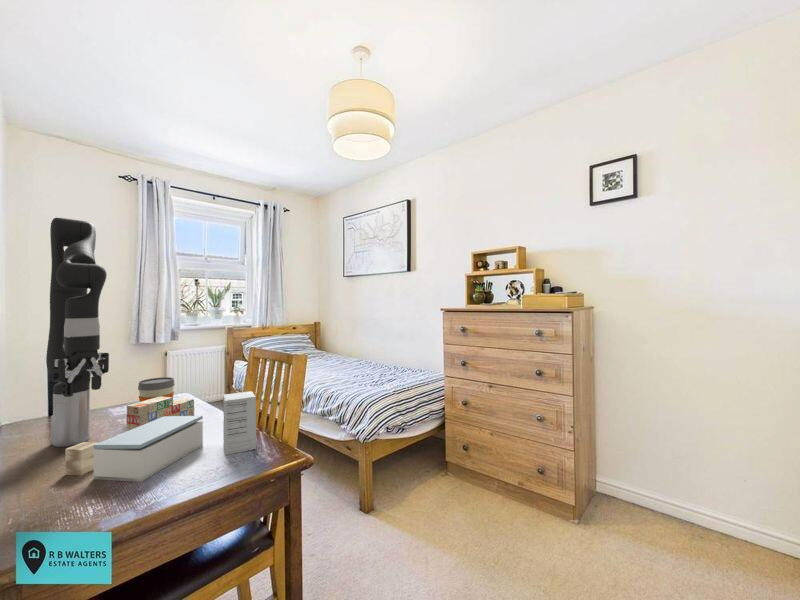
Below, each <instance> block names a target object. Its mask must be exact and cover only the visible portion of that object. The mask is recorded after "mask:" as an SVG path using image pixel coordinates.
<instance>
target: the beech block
mask: <svg viewBox="0 0 800 600" xmlns="http://www.w3.org/2000/svg"><path fill="white" fill-rule="evenodd" d="M97 443H98V442H90V441H85V442H82V443H79V444H75V445H71V446H69V447H67V448H65V449H64V450H65V455H64V456H65V462H64V463H65V475H67V476H69V475H71V476H83V475H86V474H87V473H89V472H91V471H94V446H93V445H95V444H97Z"/></svg>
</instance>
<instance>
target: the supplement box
mask: <svg viewBox="0 0 800 600" xmlns="http://www.w3.org/2000/svg"><path fill="white" fill-rule="evenodd" d="M256 397H257V396H256V395H255V394H254V392H253V391H243V392H234V393H233V392H232V393H227V394H223V396H222V401H223V403H222V404H223V405H222V407H223V410H222V411H223V429H222V430H223V431H222V432H223V451H224V455H225V456H228V455H233V454H239V453H242V452H244V453H245V452H248V450H249V451H254V450H253V449H255V450H257V398H256Z"/></svg>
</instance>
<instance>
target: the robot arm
mask: <svg viewBox="0 0 800 600" xmlns="http://www.w3.org/2000/svg"><path fill="white" fill-rule="evenodd" d="M49 232H50V251H51V252H50V253H51V273H50V274H51V275H50V284H49V285H50V286H49V332H48V337H47V338H48V340H47V349H46V355H45V357H46V359H45V362H46V368H47V371H48V372H50V373H51V374H52V382H53V383H55V384H54V385H53V387H52V415H51V416H50V445H52V446H53V447H57V448H58V447H59V448H61V447H62V448H63V447H68V446H69V447H71V446H75V445H77V444H80V443H82V442H88V440H90V439H91V428H90V427H91V417H90V416H91V414H90V413H91V412H90V411H91V407H90V404H91V403H90V402H91V401H90V399H91V398H90V395H91V394H90V393H91V391H90V388H91V390H93V391H95V390H100V389H101V387H102V376H103V375H104V374H106V373H107V374H108V373H109V371H110V370H109V368H110V366H109V363H110V354H109V353H108V352H98V351H99V350H100V348H101V345H100V344H101V341H100V339H101V338H100V337H101V335H100V333H101V332H100V327H101V325H100V320H99V319H100V318H99V305H100V304H99V302H100V298H101V294H102V290H103V287H104V286H105V283H106V279H107V276H108V275H107V271H106V269H105V268H104V267H103V266H102V265H100V264H97V261H96V258H95V249H96V242H97V239H96V237H97V234H96V233H97V232H96V227H95V226H94V224H93V223H91V222H90V221H86V220H82V219H81V220H79V219H74V218H73V219H72V218H64V217H54V218H52V221H51V223H50V231H49ZM64 247H66V249H65V248H64ZM88 289H89V292H88Z"/></svg>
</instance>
